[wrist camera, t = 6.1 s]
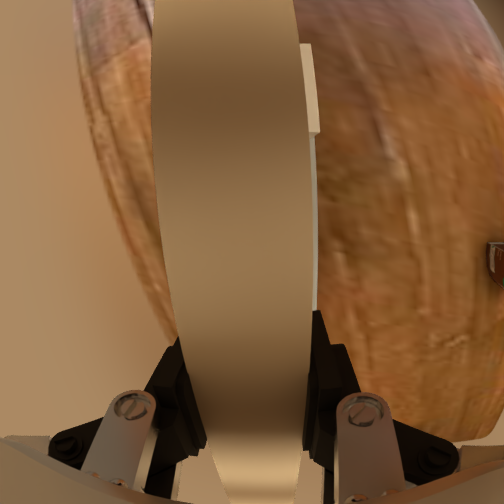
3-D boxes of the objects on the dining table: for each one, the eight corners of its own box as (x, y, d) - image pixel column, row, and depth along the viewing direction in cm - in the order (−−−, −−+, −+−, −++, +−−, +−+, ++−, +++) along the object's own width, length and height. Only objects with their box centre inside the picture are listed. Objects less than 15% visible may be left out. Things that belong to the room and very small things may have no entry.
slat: (208, 65, 10) (156, -11, 4) (281, 59, 9) (286, -29, 4) (245, 446, 16) (237, 518, 10) (289, 446, 15) (290, 519, 10)
